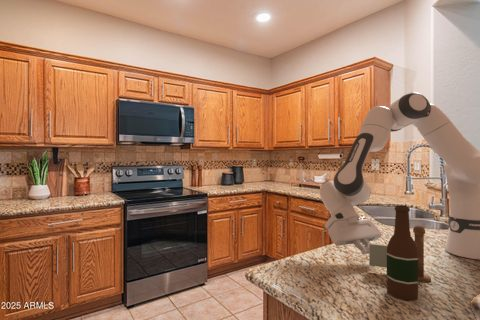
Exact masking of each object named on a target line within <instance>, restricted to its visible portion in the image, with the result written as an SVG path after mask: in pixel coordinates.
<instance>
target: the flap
mask: <svg viewBox="0 0 480 320" xmlns="http://www.w3.org/2000/svg"><path fill="white" fill-rule="evenodd" d="M387 246H388V244H381V243H371V242H369V254H368V255H369V256H368V262H369V264H368V265H369V266H372V267H378V268H386V269H387Z"/></svg>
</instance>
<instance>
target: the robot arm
mask: <svg viewBox="0 0 480 320" xmlns="http://www.w3.org/2000/svg"><path fill="white" fill-rule="evenodd" d="M410 125H412V126H414V128H415V127H416V128H417V131H418V132H419V134H420V135H421V136H422V138H423V139H424V140H425V141H426V142H427V144H428V145H429V147H430V149H431V150H432V151H433V152H434V153H435V154H436V155H437V156H438V157H440V158H441V159H442V161H444V162H445V163H444V166H443V170H444V173H445V178H446V179H445V180H446V184H447V189H448V194H449V195H448V196H449V216H448V219H447V221H448V222H447V223H448V229H447V231H448V232H447V235H446V236H447V237H446V243H445V245H444V251H446V252H447V253H449V254H452V255H455V256H458V257H463V258H467V259H473V260H480V150H479V149H477V147H476V146H474V145H473V144H472V142H469V140H467V138H466V137H464V135H463V134H462V132H460V130H459V129H458V128H457V126H456V125H455V124H454V123H453V122H452V121H451V119H450V117H448V116H447V115H446V114H445V113H444V112H443V111H442V110H441V109H440V108H439V107H438V106H436V104H433V103H430V101H429V99H427V97H426V96H424V95H423V94H421V93H419V92H416V91H412V92H409V93H406V94H404V95H402V96H400V98H398V99H397V100H395V101H394V102H392V104H390V106H388V107H386V106H383V105H376V106H374V107H372V108H370V109H369V110H368V112H367V114H366V115H365V118H364V119H363V122H362V124H361V126H360V129H359V132H358V134H357V136H356V138H355V139H354V142H353V144H352V146H351V148H350V150H349V151H348V154H347V157H346V159H345V161H344V163H343V164H342V165H341V167H340V168H339V169H338V170H337V171H336V173H335V174H334V176H333V180H329V181H326V182H324V183H323V185H321V187H320V188H319V196H320V199H321V202H322V203H323V205H324V207H325V208H326V210H327V211H328V212H329V213H330V218H328V220H327V221H326V222H325V224H324V227H325V228H326V230H327V232H328V235H329V237H330V240H331V242H332V243H333V245H335V246H337V247H340V246H341V247H342V246H347V245H354V247H355V248H356V249H358V250H359V251H360V252H361V254H362V255H367V254H368V255H369V243H370V242H373V241H378V240H379V239H380V238H381V237H382V231H381V230H380V229H379V228H378V226H377V225H376V224H375V223H374V222H373V221H372V220H370V219H369V218H367V217H365V216H362V217H360V215H359V213H358V212H357V211H356V210H355V207H356V206H359V205H361V204H363V203H365V202H366V201H368V200H369V199H370V196H371V194H372V193H371V192H372V191H371V188H370V186H369V185H368V183H367V181H366V180H365V178H364V175H363V168H364V166H365V163H366V161H367V158H368V156H369V153H375V152H379V151H381V150H383V149H384V148H385V146H386V145H387V143H388V141H389V137H390V134H391V132H392V133H394V132H398V131H401V130H403V129H404V128H407V127H408V126H410Z"/></svg>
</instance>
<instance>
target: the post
mask: <svg viewBox="0 0 480 320" xmlns="http://www.w3.org/2000/svg"><path fill="white" fill-rule="evenodd" d="M412 232H413V234H414V241H415V243H416V246H417V248H418V282H422V283H430V282H431V281H432V277H431V276H430V275H429V274H428V273H425V267H424V266H425V264H424V263H425V262H424V261H425V260H424V259H425V258H424V257H425V255H424V254H425V253H424V252H425V249H424V247H425V243H424V242H425V241H424V240H425V237H424V236H425V234H426V229H425V227H423V226H421V225H415V226H414V227H413V228H412Z"/></svg>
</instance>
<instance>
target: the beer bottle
mask: <svg viewBox="0 0 480 320" xmlns="http://www.w3.org/2000/svg"><path fill="white" fill-rule="evenodd" d="M394 211H395V219H394V232H393V235H392V236H391V237H390V238H389V241H388V243H387V245H388V246H387V268H386V292H387V294H389V296H392V297H393V298H395V299H398V300H402V301H406V302H411V301H417V300H418V297H419V296H418V295H419V281H418V248H417V246H416V243H415V239H413V236H412V233H411V229H410V228H411V227H410V211H411V209H410V207H409V206H407V205H401V204H400V205H395V206H394Z"/></svg>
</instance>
